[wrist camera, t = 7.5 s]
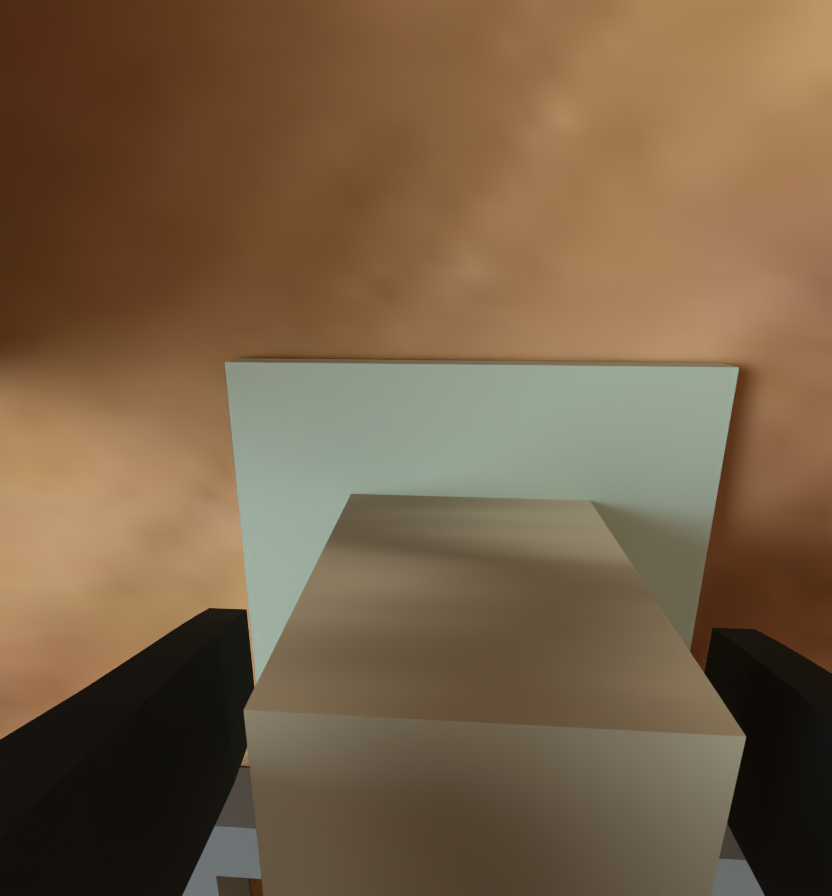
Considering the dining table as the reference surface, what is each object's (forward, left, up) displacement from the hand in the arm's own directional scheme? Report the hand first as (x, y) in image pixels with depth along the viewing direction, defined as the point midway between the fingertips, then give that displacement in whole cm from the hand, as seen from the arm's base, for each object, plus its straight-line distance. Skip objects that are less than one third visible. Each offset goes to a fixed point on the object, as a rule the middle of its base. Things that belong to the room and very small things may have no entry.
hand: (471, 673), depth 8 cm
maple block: (0, 0, -2) cm, 2 cm away
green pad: (0, 0, -3) cm, 3 cm away
